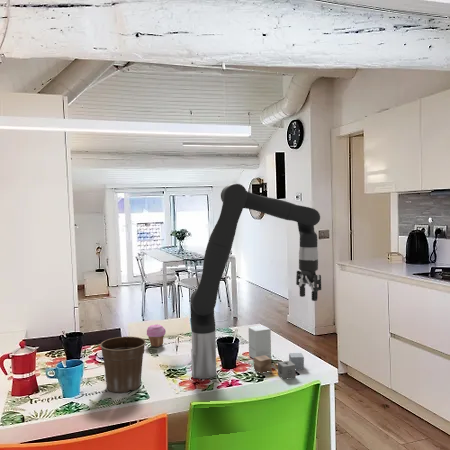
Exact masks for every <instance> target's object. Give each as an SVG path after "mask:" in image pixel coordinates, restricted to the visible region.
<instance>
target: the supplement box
mask: <svg viewBox="0 0 450 450" xmlns="http://www.w3.org/2000/svg"><path fill="white" fill-rule="evenodd" d="M271 333H272V332H271V328H269V327H267V326H265V325H264V324H263V325H262V324H261V325H255V326H249V327H248V356H249V357H251V358H252V359H253V360H254V357H257V356H263V355H265V356H267V357H269V358H271V359H272V343H271V342H272V338H271V337H272V335H271Z"/></svg>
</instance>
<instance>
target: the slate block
mask: <svg viewBox="0 0 450 450" xmlns="http://www.w3.org/2000/svg"><path fill="white" fill-rule="evenodd" d="M288 358H289V359H288V361H291V362H292V363H294V364H295V369H300V370H305V356H304V355H303V352H289V353H288Z"/></svg>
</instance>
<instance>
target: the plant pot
mask: <svg viewBox="0 0 450 450" xmlns="http://www.w3.org/2000/svg"><path fill="white" fill-rule="evenodd" d="M146 344H147V340H146V339H145V338H142V337H139V336H118V337H117V336H116V337H113V338H112V337H111V338H108V339H105V340H104V341H102V342H101V343H100V344H99V346H100V348H101V354H102V355H101V356H102V357H103V364H104V373H105V383H106V389H107V390H108V391H109V392H112V393H116V394H117V393H119V394H120V393H121V394H122V393H128V392H130V391H136V390H138V388H140V386H141V385H142V373H143V372H142V371H143V370H142V369H143V359H144V354H145V346H146Z"/></svg>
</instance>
